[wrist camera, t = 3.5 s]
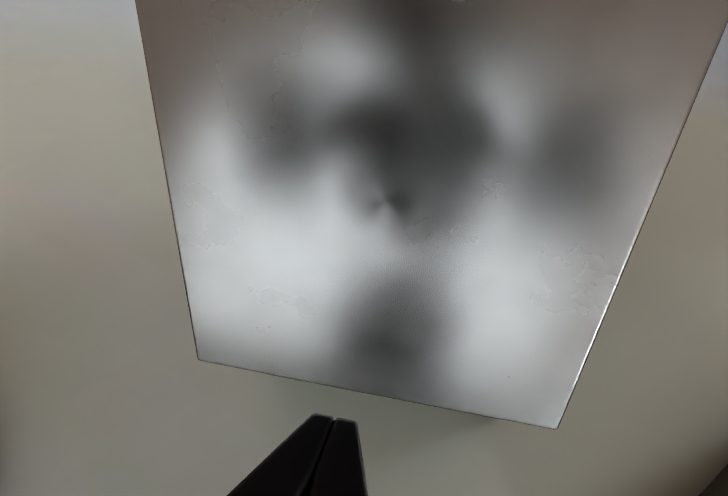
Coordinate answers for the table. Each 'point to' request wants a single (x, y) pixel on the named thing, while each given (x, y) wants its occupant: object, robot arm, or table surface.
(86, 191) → the table surface
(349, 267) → the grey flat plate
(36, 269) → the table surface
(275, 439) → the table surface
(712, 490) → the pad
